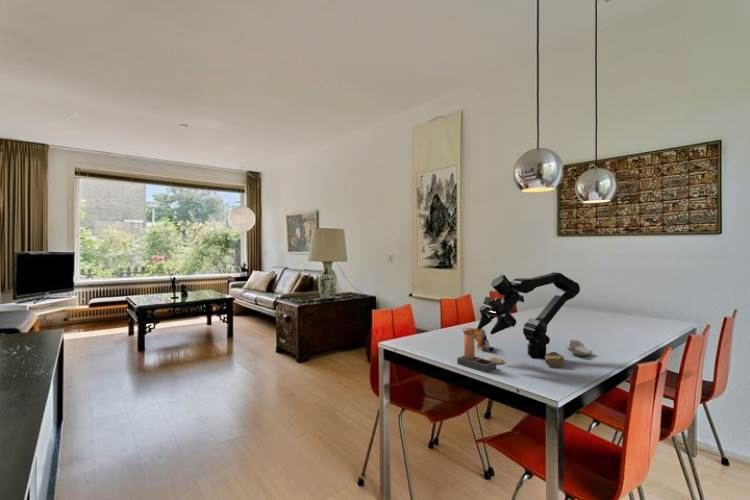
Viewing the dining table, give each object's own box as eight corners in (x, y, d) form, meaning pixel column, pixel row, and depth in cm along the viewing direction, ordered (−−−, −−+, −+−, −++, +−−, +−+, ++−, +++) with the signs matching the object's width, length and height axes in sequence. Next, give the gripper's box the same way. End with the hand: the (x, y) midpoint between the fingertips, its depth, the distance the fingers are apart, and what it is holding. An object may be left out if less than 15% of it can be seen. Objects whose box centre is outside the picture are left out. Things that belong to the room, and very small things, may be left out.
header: (467, 360, 151) (467, 354, 151) (496, 368, 141) (496, 362, 141) (457, 363, 147) (457, 357, 147) (485, 372, 137) (485, 365, 137)
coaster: (501, 358, 153) (501, 357, 153) (506, 364, 145) (506, 363, 145) (482, 358, 154) (482, 357, 154) (486, 364, 146) (486, 363, 146)
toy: (493, 340, 159) (480, 318, 170) (478, 345, 159) (466, 323, 171) (496, 356, 166) (483, 334, 177) (482, 361, 167) (470, 339, 178)
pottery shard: (576, 358, 152) (575, 347, 152) (557, 351, 162) (557, 340, 162) (597, 356, 154) (596, 345, 154) (577, 349, 165) (577, 338, 165)
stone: (537, 359, 155) (540, 347, 155) (556, 363, 153) (558, 352, 153) (544, 366, 142) (546, 353, 142) (564, 371, 140) (567, 358, 140)
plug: (474, 362, 149) (474, 327, 149) (476, 366, 144) (476, 330, 144) (462, 362, 149) (462, 327, 149) (464, 366, 144) (463, 330, 144)
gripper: (482, 287, 159) (460, 314, 156) (509, 292, 141) (484, 322, 138) (498, 304, 161) (476, 331, 158) (527, 311, 143) (502, 341, 140)
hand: (484, 331), depth 148 cm, fingers open, 9 cm apart
